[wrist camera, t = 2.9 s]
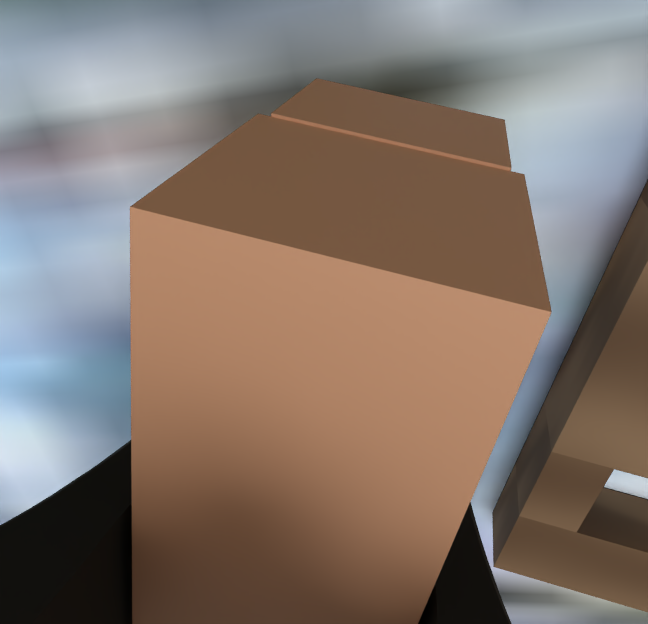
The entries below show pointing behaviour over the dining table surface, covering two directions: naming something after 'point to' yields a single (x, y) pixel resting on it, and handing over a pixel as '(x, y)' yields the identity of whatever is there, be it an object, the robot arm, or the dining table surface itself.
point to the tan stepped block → (323, 358)
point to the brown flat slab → (589, 448)
